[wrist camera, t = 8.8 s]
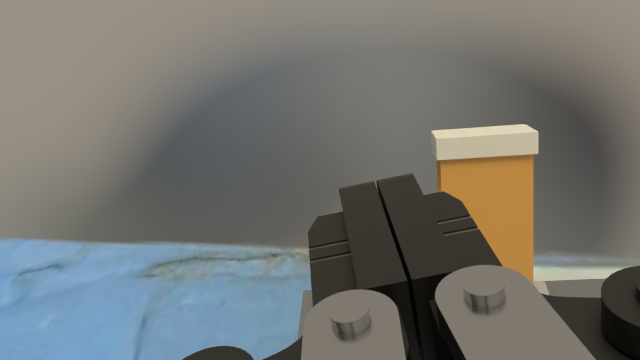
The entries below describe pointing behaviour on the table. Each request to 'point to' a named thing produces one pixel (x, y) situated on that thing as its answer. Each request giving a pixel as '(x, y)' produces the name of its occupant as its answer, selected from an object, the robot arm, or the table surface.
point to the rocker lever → (493, 185)
